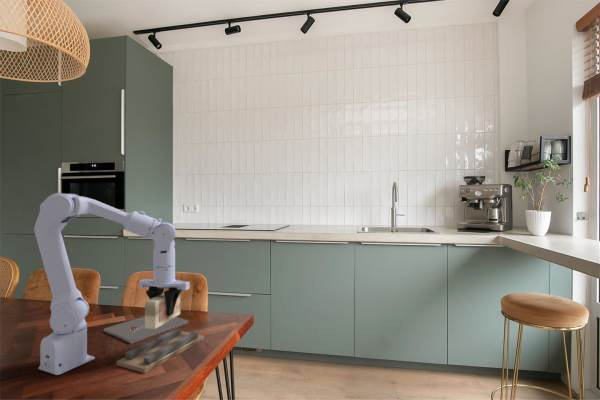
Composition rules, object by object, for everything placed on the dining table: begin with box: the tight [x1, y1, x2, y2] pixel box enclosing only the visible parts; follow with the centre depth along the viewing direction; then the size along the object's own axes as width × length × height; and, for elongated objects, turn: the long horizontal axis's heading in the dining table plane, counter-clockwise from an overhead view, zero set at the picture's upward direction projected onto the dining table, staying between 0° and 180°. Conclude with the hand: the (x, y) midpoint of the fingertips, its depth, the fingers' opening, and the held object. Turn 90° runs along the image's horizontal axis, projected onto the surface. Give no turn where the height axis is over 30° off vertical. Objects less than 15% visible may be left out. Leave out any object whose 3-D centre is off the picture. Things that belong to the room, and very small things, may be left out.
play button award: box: [103, 315, 189, 344], centre depth 112 cm, size 16×2×20 cm
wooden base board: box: [116, 328, 206, 374], centre depth 94 cm, size 22×10×2 cm, turn 156°
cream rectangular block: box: [144, 292, 181, 329], centre depth 94 cm, size 12×3×7 cm, turn 168°
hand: (164, 314), depth 94 cm, fingers closed on cream rectangular block, 3 cm apart
